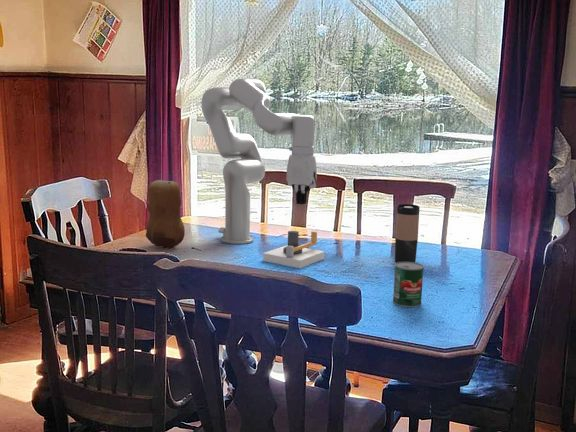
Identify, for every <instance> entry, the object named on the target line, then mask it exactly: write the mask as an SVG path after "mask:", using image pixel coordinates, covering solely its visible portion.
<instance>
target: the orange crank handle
mask: <svg viewBox="0 0 576 432" xmlns="http://www.w3.org/2000/svg"><path fill="white" fill-rule="evenodd" d="M310 234H311V235H310V241H308V242H305V243H303V244H301V245H298V246H297V247H294V246H286V245H285V246H286V256H287V257H293V256H294V252H295V251H298V250H300V249H303V248H308V247H312V246H313V245H314V246H315V245H317V243H318V231H316V230H313V231H311V233H310Z"/></svg>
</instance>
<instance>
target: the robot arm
mask: <svg viewBox="0 0 576 432" xmlns="http://www.w3.org/2000/svg"><path fill="white" fill-rule="evenodd" d="M200 102H201V105H200V106H201V111H202V114H203V117H204V120H206V124H207V125H208V126H209V129H210V131H211V135H212V137H213V140H214V142H215V145H216V148H217V151H218V153H219V155H220V156H221V157H222V158H224V159H232V160H229V161H228V162H226V163H225V165H224V166H223V169H222V177H223V182H224V191H225V194H224V195H225V202H224V203H225V210H224V215H225V217H224V218H225V220H224V221H225V223H224V224H225V226H224V227H223V226H220V227H219V229H218V233H220V234H222V236H221V238H220V240H221V242H223V243H226V244H233V245H242V244H249V243H253V241H254V239H255V238H254V236H252V235H251V234H250V233H251V230H250V229H251V195H250V190H249V188H248V186H247V184H252V183H253V184H254V183H258V182H261V181H262V180H263V179H264V178H265V176H266V175H265V174H266V167H265V164H264V163H265V162H264V161H263V157H262V155H261V153H260V150H259V148H258V145H257V141H256V140H255V139H254V138H253V136H252V135H250V134H249V133H245V132H239V133H238V132H236V130H235V128H234V126H233V123H232V120H231V119H230V118H229V117H228V116H227V114H225V112H224V111H226V110H227V111H234V110H235V111H236V110H237V111H238V110H241V109H246V110H248V111H249V112H250V113H252V118H253V120H254V122H255V124H256V126H257V127H259V129H260V128H261V129H262V131H264V132H266V133H267V134H268V135H271V136H273V137H275V136H276V137H278V136H292V137H291V146H290V147H289V148H288V149H289V151H290V152H291V154H289V157H288V160H287V166H286V167H287V168H286V179H285V180H286V182H287V185H288V186H290V187H291V188H293V190H294V193H295V195H296V196H295V201H296V202H295V203H296V205H306V203H307V199H308V193H309V191H310V190H311V189H312V190H313V189H316V188H317V184H316V183H317V176H318V175H317V174H318V172H317V161H316V155H315V152H314V151H315V146H314V145H315V123H316V122H315V117H314V116H313V115H308V114H307V115H306V114H297V113H274V112H273V111H272V110H270V109H269V108H270V105H271V98H270V96H269V95H268V94H267V90H266V86H265V84H264V82H262V81H261V80H259V79H255V78H237V79H235V80H233V81H232V82H231V83H230V85H229V87H223V86H221V87H220V86H218V87H211V88H209V89H207V90H205V92H204V93H203V95H202V98H201V101H200ZM223 110H224V111H223Z"/></svg>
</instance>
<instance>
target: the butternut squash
mask: <svg viewBox="0 0 576 432" xmlns="http://www.w3.org/2000/svg"><path fill="white" fill-rule="evenodd" d="M181 206H182V196H181V188H180V185H179V183H177V182H176V181H173V180H162V179H157V180H154V181H152V182H151V183H150V185H149V187H148V204H147V210H148V213H149V216H148V219H147V222H146V233H145V237H146V239H147V240H148V241H149V242H150V243H151V244H152V245H154V246H156V247H162V248H163V247H164V249H166V248H167V249H173V248H174V247H177V246H178V245H179V244H181V243H182V242H183V240H184V239H185V235H186V233H185V225H184V222H183V220H182V218H181Z"/></svg>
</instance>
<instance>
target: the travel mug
mask: <svg viewBox="0 0 576 432" xmlns="http://www.w3.org/2000/svg"><path fill="white" fill-rule="evenodd" d="M396 209H397V210H396V223H395V240H394V244H395V245H394V263H395V264H396V263H398V262H415V263H417V262H416V260H417V252H418V251H417V250H418V241H419V240H418V239H419V223H420V206H419V205H417V204H409V203H402V204H398V205H397V208H396Z"/></svg>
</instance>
